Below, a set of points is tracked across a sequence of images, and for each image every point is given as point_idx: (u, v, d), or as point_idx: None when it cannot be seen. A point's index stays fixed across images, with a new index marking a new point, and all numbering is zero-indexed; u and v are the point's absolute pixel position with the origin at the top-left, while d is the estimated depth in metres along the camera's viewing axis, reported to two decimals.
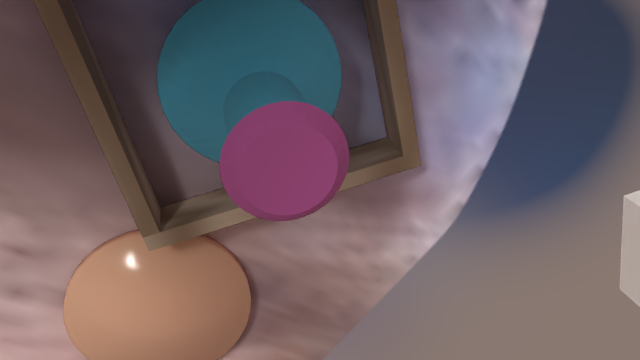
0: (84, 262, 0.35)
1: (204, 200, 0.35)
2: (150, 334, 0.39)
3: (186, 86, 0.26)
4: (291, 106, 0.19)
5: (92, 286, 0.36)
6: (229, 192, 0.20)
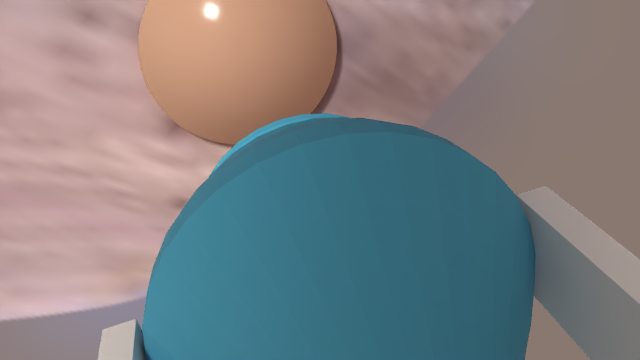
0: None
1: None
2: (228, 83, 0.35)
3: None
4: None
5: (171, 10, 0.33)
6: None
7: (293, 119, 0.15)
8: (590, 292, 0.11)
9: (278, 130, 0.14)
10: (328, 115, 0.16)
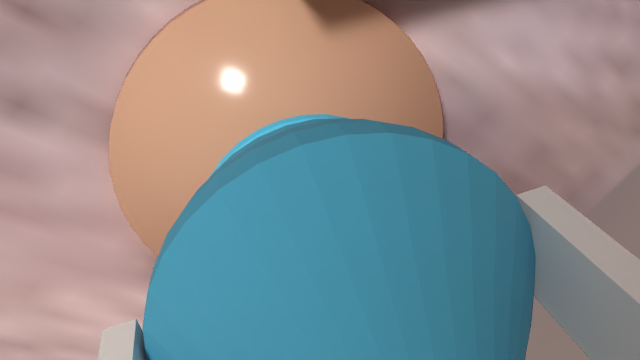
0: (153, 40, 0.18)
1: None
2: None
3: None
4: None
5: (166, 95, 0.18)
6: None
7: (294, 120, 0.15)
8: (590, 293, 0.11)
9: (278, 131, 0.14)
10: (328, 116, 0.16)
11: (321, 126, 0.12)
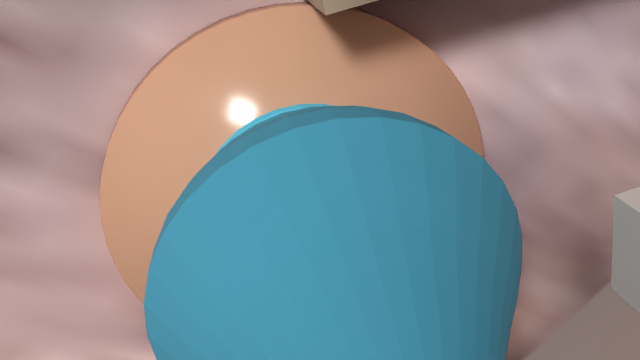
0: (151, 73, 0.15)
1: None
2: None
3: (209, 354, 0.11)
4: None
5: (167, 135, 0.16)
6: None
7: (290, 109, 0.16)
8: None
9: (275, 118, 0.14)
10: (324, 105, 0.16)
11: (314, 111, 0.12)
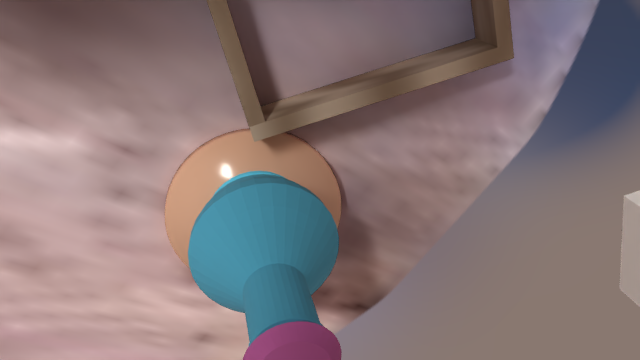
0: (186, 161, 0.37)
1: (302, 97, 0.36)
2: None
3: (212, 267, 0.32)
4: (295, 325, 0.25)
5: (193, 186, 0.37)
6: None
7: (246, 174, 0.37)
8: None
9: (237, 180, 0.36)
10: (260, 171, 0.37)
11: (249, 180, 0.33)
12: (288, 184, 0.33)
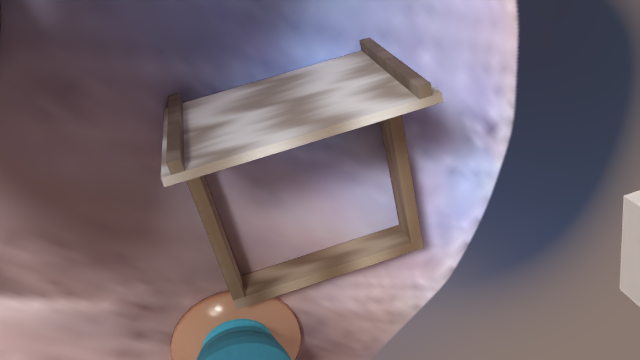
0: (187, 314, 0.51)
1: (272, 271, 0.50)
2: None
3: None
4: None
5: (192, 331, 0.51)
6: None
7: (230, 322, 0.51)
8: None
9: (224, 331, 0.50)
10: (241, 319, 0.52)
11: (232, 339, 0.48)
12: (259, 342, 0.48)
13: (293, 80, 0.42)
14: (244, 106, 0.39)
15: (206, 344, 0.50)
